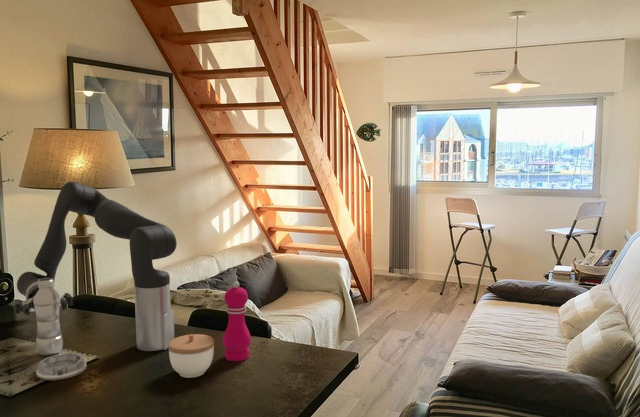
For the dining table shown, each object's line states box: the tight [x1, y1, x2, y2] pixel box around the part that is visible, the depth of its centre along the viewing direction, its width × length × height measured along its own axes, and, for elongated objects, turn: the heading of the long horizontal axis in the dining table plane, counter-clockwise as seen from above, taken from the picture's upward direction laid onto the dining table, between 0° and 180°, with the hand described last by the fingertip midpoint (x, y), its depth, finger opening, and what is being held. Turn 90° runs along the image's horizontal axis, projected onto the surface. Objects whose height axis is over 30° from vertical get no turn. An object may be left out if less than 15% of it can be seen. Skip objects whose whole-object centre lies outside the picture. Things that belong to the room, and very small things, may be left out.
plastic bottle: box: [33, 278, 64, 356], centre depth 139 cm, size 6×7×20 cm
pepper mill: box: [222, 281, 252, 362], centre depth 137 cm, size 7×7×20 cm
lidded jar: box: [167, 333, 215, 379], centre depth 127 cm, size 11×11×9 cm
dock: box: [35, 352, 87, 381], centre depth 129 cm, size 11×11×2 cm
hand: (46, 309), depth 143 cm, fingers open, 8 cm apart
